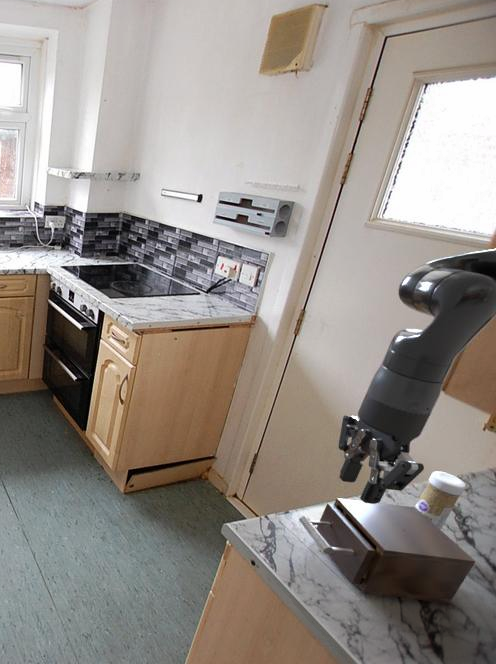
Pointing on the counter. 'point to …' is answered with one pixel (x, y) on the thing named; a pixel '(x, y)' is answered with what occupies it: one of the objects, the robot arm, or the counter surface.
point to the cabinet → (408, 553)
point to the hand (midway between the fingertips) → (356, 490)
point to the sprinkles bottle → (440, 497)
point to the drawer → (342, 542)
